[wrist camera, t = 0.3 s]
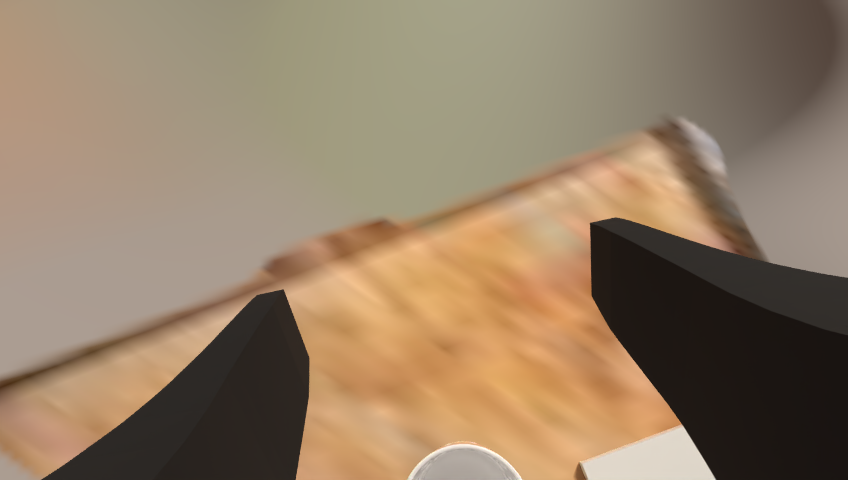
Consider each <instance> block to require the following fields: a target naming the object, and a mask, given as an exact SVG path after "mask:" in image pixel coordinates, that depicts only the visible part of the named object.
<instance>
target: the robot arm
mask: <svg viewBox="0 0 848 480" xmlns="http://www.w3.org/2000/svg"><path fill="white" fill-rule="evenodd" d="M590 237H591V284H592V297H593V299H594V301H595V303H596V305H597V306H598V308H599V310H600V312H601V314H602V316H603V317H604V319H605V321H606V322H607V324H608V326H609V328H610V329H611V331H612V332H613V333H614V335H615V336H616V338H617V339H618V340H619V341H620V343H621V344H622V345H623V347H624V348H625V349H626V351H627V352H628V353H629V355H630V356H631V357H632V358H633V360H634V361H635V362H636V364H637V365H638V366H639V368H640V369H641V370H642V371H643V373H644V374H645V375H646V377H647V378H648V379H649V380H650V382H651V383H652V384H653V386H654V387H655V388H656V389H657V391H658V392H659V393H660V395H661V396H662V397H663V398H664V400H665V401H666V402H667V404H668V405H669V406H670V408H671V409H672V411H673V412H674V413H675V415H676V416H677V418H678V419H679V421H680V422H681V423H682V425H683V427H684V428H685V430H686V432H687V433H688V435H689V436H690V438H691V440H692V441H693V443H694V444H695V446H696V448H697V449H698V451H699V453H700V454H701V456H702V457H703V459H704V461H705V462H706V464H707V466H708V467H709V469H710V471H711V472H712V474H713V476H714V478H715V479H716V480H848V278H845V277H838V276H833V275H826V274H821V273H815V272H810V271H805V270H800V269H795V268H791V267H786V266H781V265H777V264H772V263H768V262H764V261H760V260H755V259H752V258H748V257H744V256H741V255H737V254H733V253H730V252H726V251H723V250H719V249H716V248H713V247H709V246H706V245H703V244H700V243H697V242H693V241H690V240H687V239H684V238H681V237H678V236H675V235H672V234H669V233H666V232H663V231H660V230H657V229H654V228H651V227H648V226H645V225H642V224H639V223H636V222H632V221H629V220H625V219H621V218H611V219H606V220H602V221H597V222H592V223H590ZM308 398H309V356H308V353H307V350H306V348H305V345H304V342H303V340H302V337H301V334H300V332H299V329H298V326H297V324H296V321H295V319H294V316H293V313H292V311H291V308H290V305H289V303H288V300H287V297H286V295H285V292H284V289H283V290H279V291H274V292H269V293H265V294H260V295H257V296H256V297H255V298H253V299H252V300H251V301H250V302H249V303H248V304H247V305H246V306H245V307H244V308H243V309H242V310H241V311H240V312H239V313H238V314H237V316H236V317H235V318H234V319H233V320H232V321H231V322H230V323H229V324H228V325H227V326H226V327H225V328H224V329H223V330H222V331H221V332H220V333H219V335H218V336H217V337H216V338H215V339H214V340H213V341H212V342H211V343H210V344H209V345H208V346H207V347H206V348H205V349H204V350H203V351H202V352H201V353H200V354H199V355H198V356H197V357H196V358H195V359H194V360H193V361H192V362H191V363H190V364H189V365H188V366H187V367H186V368H185V369H184V370H182V371H181V372H180V373H179V374H178V375H177V376H176V377H175V378H174V379H173V380H172V381H171V382H170V383H169V384H168V385H167V386H166V387H164V388H163V389H162V390H161V391H160V392H159V393H158V394H157V395H155V396H154V397H153V398H152V399H151V400H150V401H148V402H147V403H146V404H145V405H144V406H142V407H141V408H140V409H139V410H137V411H136V412H135V413H134V414H133V415H131V416H130V417H129V418H128V419H126V420H125V421H124V422H123V423H121V424H120V425H119V426H117V427H116V428H115V429H113V430H112V431H111V432H109V433H108V434H106V435H105V436H104V437H102V438H101V439H99V440H98V441H97V442H95V443H94V444H93V445H91V446H90V447H88V448H87V449H86V450H84V451H83V452H81V453H80V454H79V455H77V456H76V457H75V458H73V459H72V460H70V461H69V462H68V463H66V464H65V465H63V466H62V467H60V468H59V469H57V470H56V471H54V472H53V473H51V474H49V475H48V476H46V477H45V478H43V479H42V480H296V474H297V468H298V461H299V455H300V449H301V443H302V437H303V431H304V425H305V418H306V412H307V405H308Z"/></svg>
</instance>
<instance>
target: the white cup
mask: <svg viewBox="0 0 848 480" xmlns="http://www.w3.org/2000/svg"><path fill="white" fill-rule="evenodd" d="M407 480H522V478H521V477H520V475H519V474H518V473H517V471H516V470H515V469H514V468H513V467H512V466H511V465H510V464H509V463H508V462H507V461H506V460H505V459H504V458H502V457H501V456H500V455H498V454H497V453H496V452H494V451H493V450H491V449H489V448H487V447H485V446H483V445H480V444H478V443H474V442H468V441H459V442H453V443H449V444H446V445H444V446H442V447H440V448H438V449H436V450H435V451H433V452H432V453H431V454H429V455H428V456H427V457H425V458H424V459H423V460H422V461H421V462H420V463H419V464H418V465H417V466H416V467H415V468H414V469H413V471H412V472H411V474H410V475H409V477H408V479H407Z"/></svg>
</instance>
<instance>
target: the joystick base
mask: <svg viewBox="0 0 848 480" xmlns="http://www.w3.org/2000/svg"><path fill="white" fill-rule="evenodd" d="M579 464H580V466H581V469H582V471H583V473H584V476H585V478H586V480H716V479H715V478H714V476H713V474H712V472H711V471H710V469H709V467H708V466H707V464H706V462H705V461H704V459H703V457H702V456H701V454H700V453H699V451H698V449H697V448H696V446H695V444H694V443H693V441H692V440H691V438H690V436H689V435H688V433H687V432H686V430H685V428H684V427H683V425H679V426H676V427H673V428H671V429H668V430H665V431H662V432H660V433H657V434H654V435H652V436H649V437H646V438H643V439H641V440H638V441H635V442H632V443H630V444H627V445H624V446H622V447H619V448H616V449H613V450H611V451H608V452H605V453H602V454H600V455H597V456H594V457H592V458H589V459H586V460H583V461H581V462H579Z"/></svg>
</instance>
